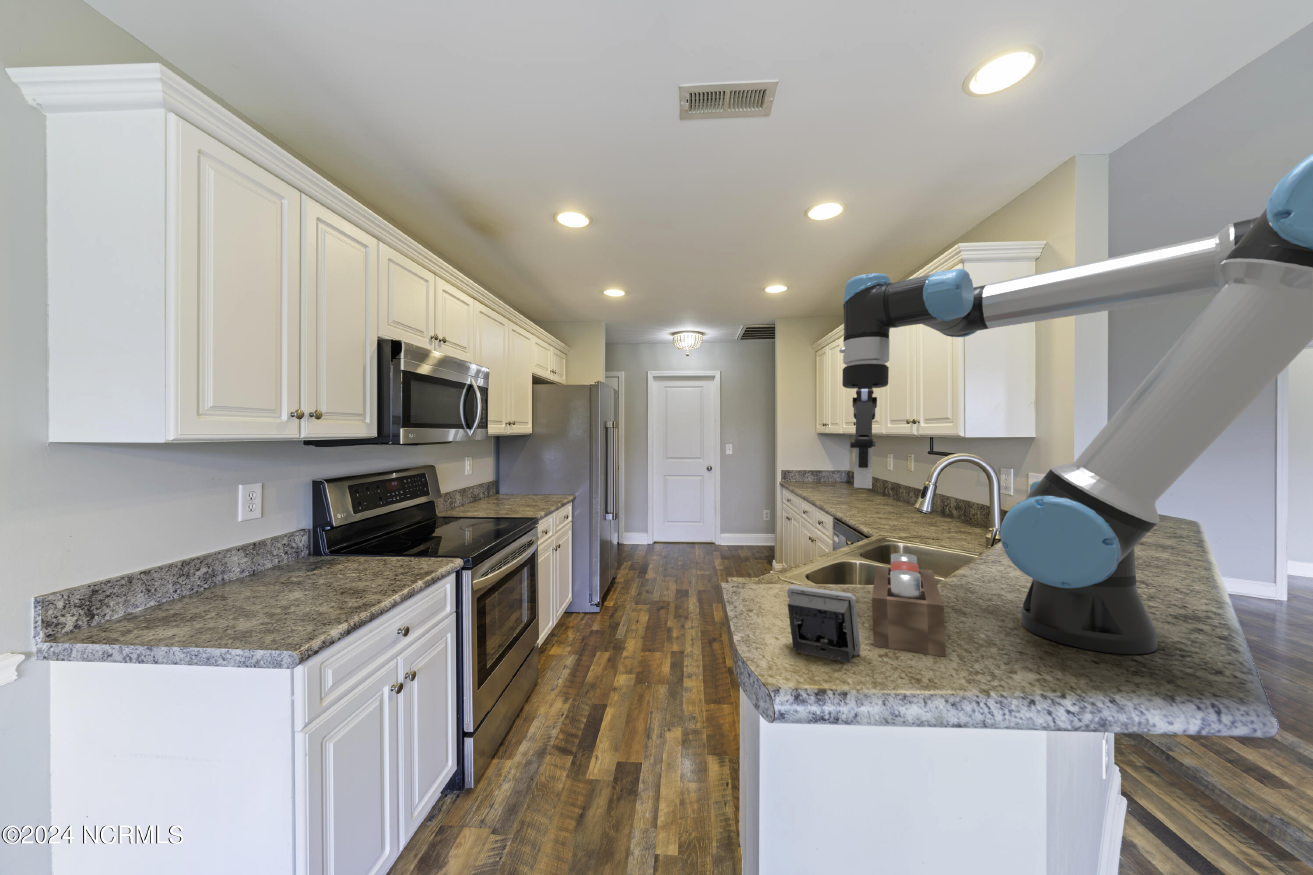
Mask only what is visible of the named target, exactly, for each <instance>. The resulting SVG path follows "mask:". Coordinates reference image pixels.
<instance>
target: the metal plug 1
mask: <svg viewBox="0 0 1313 875" xmlns="http://www.w3.org/2000/svg"><path fill="white" fill-rule="evenodd" d="M893 561H907V562H913V563H916V564H918V558H917V555H915V554H912V553H911V554H909V553H904V552H903V553H901V552H900V553H899V552H897V553H891V554H890V563H891V562H893Z"/></svg>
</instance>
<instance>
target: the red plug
mask: <svg viewBox="0 0 1313 875" xmlns="http://www.w3.org/2000/svg"><path fill="white" fill-rule="evenodd" d="M890 567H891V571H894V570H906V571H913V572H917V573H919V569H920V568H919V564H918V563H917V564H916V563H913V562H907V561H893V562H891V561H890Z"/></svg>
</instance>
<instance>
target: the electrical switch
mask: <svg viewBox="0 0 1313 875" xmlns="http://www.w3.org/2000/svg"><path fill="white" fill-rule="evenodd" d="M786 594H787V598H788V602H787V611H788V619H789V626H790V635H791V641H792V642H791V643H792V649H793V651H794V652H796V653H802V654H805V655H806V654H807V655H811V656H815V657H819V658H820V657H821V658H824V657H825V659H829V660H835V661H838V662H843V663H849V664H850V662H851V659H852V657H853V656H858V655H859V654H860V653H861V639H860V630H859V629H860V628H859V618H858V609H857V599H856V598H857V597H856V596H855V595H854V594H853V593H851V592H844V591H835V590H827V589H820V588H814V587H807V586H801V585H800V586H799V585H790V586H789V587H788V589H787V593H786ZM821 649H824V650H821ZM844 661H845V662H844Z"/></svg>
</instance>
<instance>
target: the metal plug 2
mask: <svg viewBox="0 0 1313 875" xmlns="http://www.w3.org/2000/svg"><path fill="white" fill-rule="evenodd" d="M890 577H891V597H898V598H907V599H916V600H921V575H920V574H919V573H917V572H913V571H906V570H894V571H891V572H890Z"/></svg>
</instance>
